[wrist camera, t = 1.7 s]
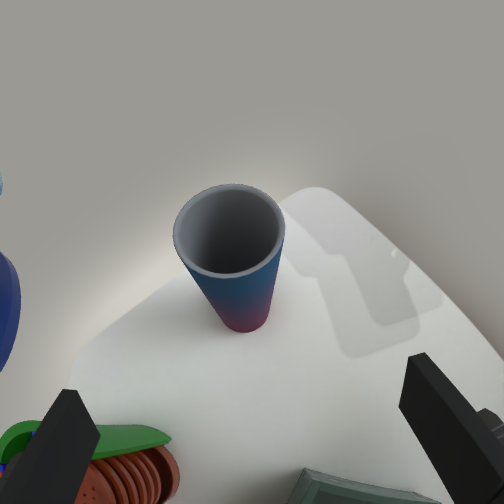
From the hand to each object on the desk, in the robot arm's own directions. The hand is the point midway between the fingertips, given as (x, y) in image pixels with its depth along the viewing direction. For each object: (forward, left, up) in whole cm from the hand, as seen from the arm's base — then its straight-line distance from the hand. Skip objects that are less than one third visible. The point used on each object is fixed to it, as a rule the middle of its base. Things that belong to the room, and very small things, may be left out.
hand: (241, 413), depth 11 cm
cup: (-5, +9, -19) cm, 21 cm away
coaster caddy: (-8, -11, -19) cm, 23 cm away
